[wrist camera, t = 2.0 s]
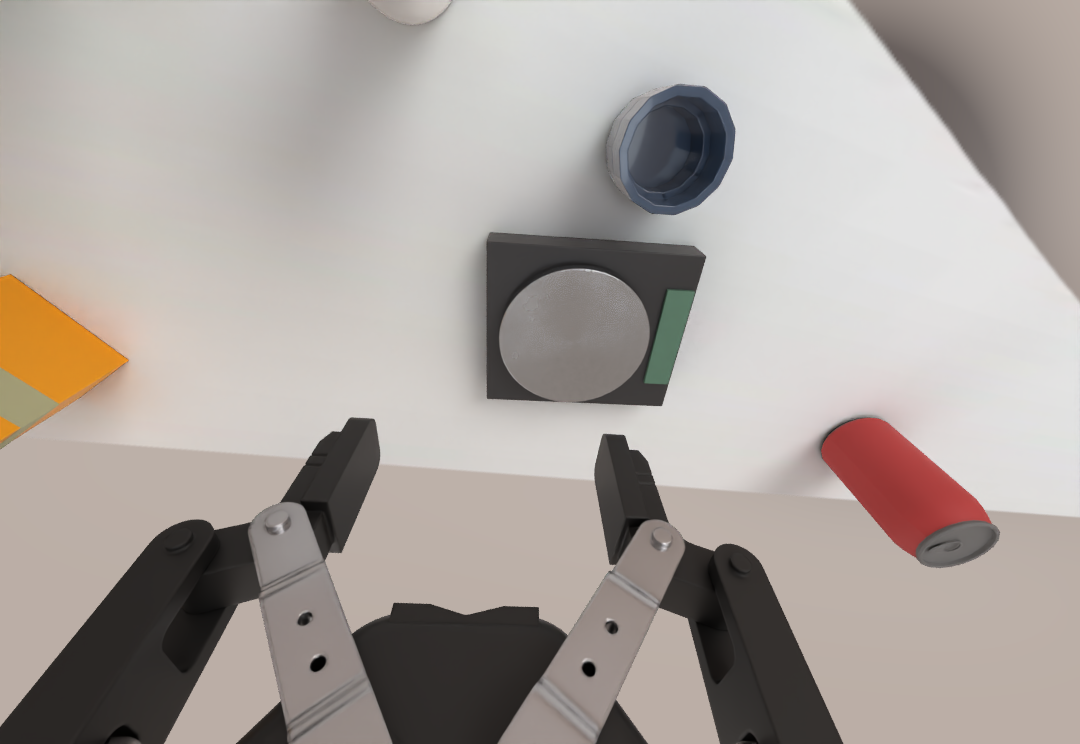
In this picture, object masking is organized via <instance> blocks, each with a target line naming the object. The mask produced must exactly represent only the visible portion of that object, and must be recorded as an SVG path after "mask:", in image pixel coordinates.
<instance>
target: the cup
mask: <svg viewBox="0 0 1080 744" xmlns="http://www.w3.org/2000/svg"><path fill="white" fill-rule="evenodd" d="M734 141H735V127H734V124H733V121H732V118H731V116H730V113H729V110H728V107H727V104H726V103H725V102H724V101H723V100H722V99H720V98H719V97H718V96H717V95H716V94H714V93H713V92H712V91H711V90H709V89H708V88H707V87H705V86H696V85H685V84H676V85H671V86H666V87H661V88H655V89H653V90H650V91H648V92H646V93H644V94H642V95H640V96H637V97H635V98H633V100H631V101H630V102H629V103H628V104H627V106H626V107H625V108H624V109H623V110H622V111H621V113H620V114H619V115H618V116H617V117H616V119H615V120H614V123H613V125H612V128H611V131H610V134H609V137H608V140H607V143H606V154H607V168H608V172H609V174H610V175H611V177H612V179H613V181H614V183H615V185H616V187H617V188H618V189H619V190H620V191H621V192H622V193H623V194H624V195H626V196H627V197H628V198H629V199H630V200H631V201H633V202H634V203H636V204H637V205H639V206H640V207H642V208H643V209H645V210H646V211H648V212H649V213H652V214H665V215H676V214H679V213H681V212H684V211H686V210H689V209H691V208H694V207H697V206H698V205H700V204H701V203H702V202H703V201H704V200H705V199H706V198H707V197H708V196H709V195H710V194H711V193H713V192H714V191H715V190H716V189H717V188H718V187H719V185H720V184H721V182H722V180H723V178H724V176H725V174H726V172H727V170H728V168H729V166H730V164H731V162H732V159H733V151H734Z"/></svg>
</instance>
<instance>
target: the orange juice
mask: <svg viewBox="0 0 1080 744" xmlns="http://www.w3.org/2000/svg"><path fill="white" fill-rule="evenodd" d="M127 361H129V360H128V359H126V358H125V357H124V356H122V355H121V354H119V353H118V352H117V351H115V350H114V349H112V348H111V347H110V346H108V345H107V344H106V343H104V342H103V341H101V340H100V339H99V338H97V337H96V336H95V335H93V334H92V333H90V332H89V331H88V330H86V329H85V328H84V327H82V326H81V325H79V324H78V323H77V322H75V321H74V320H73V319H71V318H70V317H68V316H67V315H66V314H64V313H63V312H62V311H60V310H59V309H57V308H56V307H55V306H53V305H52V304H51V303H49V302H48V301H46V300H45V299H44V298H42V297H41V296H40V295H38V294H37V293H35V292H34V291H33V290H31V289H30V288H28V287H27V286H26V285H24V284H23V283H22V282H20V281H19V280H17V279H16V278H15V277H13V276H12V275H11V274H10V275H7V276H4V277H0V449H2V448H3V447H5V446H6V445H7V444H9V443H10V442H11V441H13V440H14V439H16V438H18V437H19V436H21V435H22V434H24V433H25V432H27V431H29V430H30V429H32V428H33V427H35V426H36V425H38V424H39V423H41V422H43V421H44V420H46V419H47V418H49V417H50V416H52V415H54V414H55V413H57V412H58V411H60V410H61V409H63V408H65V407H66V406H68V405H69V404H71V403H72V402H74V401H76V400H77V399H79V398H80V397H81V396H83V395H84V394H85V393H87V392H88V391H89V390H91V389H92V388H93V387H94V386H96V385H97V384H98V383H100V382H101V381H102V380H104V379H105V378H106V377H108V376H109V375H110V374H112V373H113V372H114V371H116V370H117V369H118V368H119V367H121V366H122V365H123V364H125V363H126V362H127Z"/></svg>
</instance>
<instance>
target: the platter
mask: <svg viewBox="0 0 1080 744" xmlns="http://www.w3.org/2000/svg"><path fill="white" fill-rule="evenodd" d="M649 337H650V327H649V319H648V316H647V312H646V310H645V307H644V305H643V303H642V301H641V300H640V298H639V297H638V295H637V294H636V292H635V291H634V290H633V289H632V287H631V286H630V285H629V284H628V283H626V282H625V281H624V280H623V279H621V278H620V277H618V276H617V275H615V274H613V273H611V272H609V271H606V270H604V269H600V268H597V267H592V266H584V265H571V266H563V267H559V268H555V269H551V270H549V271H546V272H544V273H541V274H540V275H538V276H536V277H534V278H532V279H531V280H530V281H528V282H527V283H526V284H524V285H523V286H522V287H521V288H520V289H519V290H518V291H517V292H516V293H515V295H514V296H513V297H512V299H511V300H510V302H509V303H508V305H507V307H506V309H505V311H504V314H503V316H502V320H501V324H500V332H499V347H500V352H501V356H502V359H503V361H504V364H505V366H506V368H507V369H508V371H509V372H510V374H511V375H512V377H513V378H514V379H515V380H516V381H517V382H518V383H519V384H520V385H522V386H523V387H524V388H525V389H527V390H528V391H530V392H532V393H534V394H536V395H538V396H540V397H543V398H546V399H549V400H554V401H560V402H580V401H586V400H591V399H595V398H598V397H601V396H603V395H605V394H607V393H610V392H611V391H613V390H615V389H616V388H618V387H619V386H621V385H622V384H623V383H625V382H626V381H627V380H628V379H629V378H630V377H631V376H632V375H633V373H634V372H635V371H636V370H637V368H638V367H639V365H640V364H641V362H642V360H643V358H644V356H645V353H646V350H647V347H648V343H649Z"/></svg>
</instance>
